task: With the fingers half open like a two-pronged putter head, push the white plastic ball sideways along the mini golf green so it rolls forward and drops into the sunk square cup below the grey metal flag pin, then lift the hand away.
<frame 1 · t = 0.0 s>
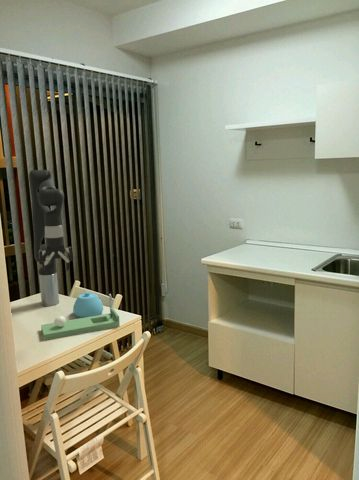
hand: (57, 271, 179), 29 cm above the table, fingers open, 8 cm apart
sugar bowl: (88, 314, 209), on the table
ball: (60, 321, 187), point 5 cm above the table, touching mini golf green
mini golf green: (80, 328, 191), on the table
flag pin: (111, 317, 196), resting on mini golf green
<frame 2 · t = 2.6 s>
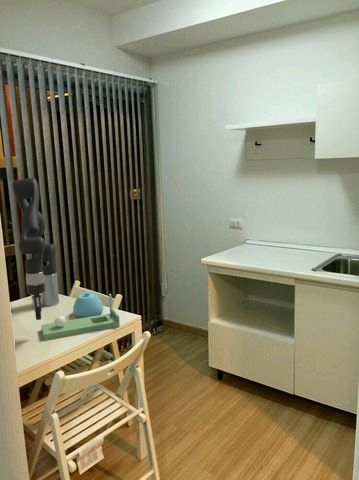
hand: (38, 319, 182), 8 cm above the table, fingers closed
nothing on the table moved.
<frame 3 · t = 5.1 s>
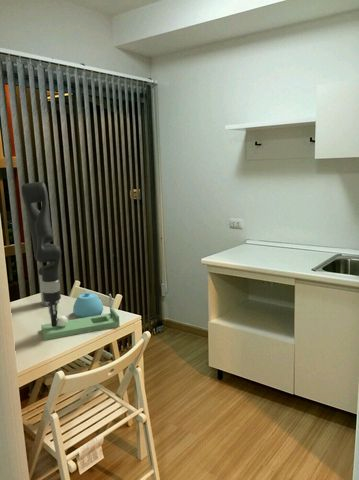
hand: (54, 326, 186), 3 cm above the table, fingers closed
ball: (62, 321, 187), point 5 cm above the table, tilted 17°, touching gripper, mini golf green
everything else where it was.
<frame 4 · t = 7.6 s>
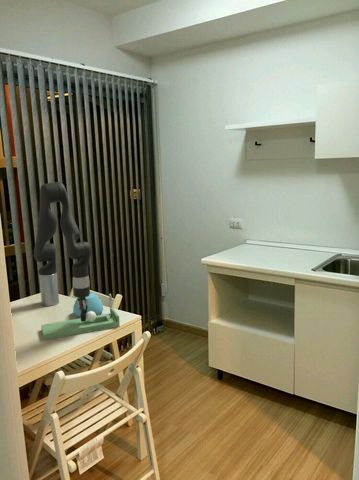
hand: (83, 320, 191), 3 cm above the table, fingers closed
ball: (90, 316, 192), point 5 cm above the table, tilted 141°, touching gripper, mini golf green
everything else where it was.
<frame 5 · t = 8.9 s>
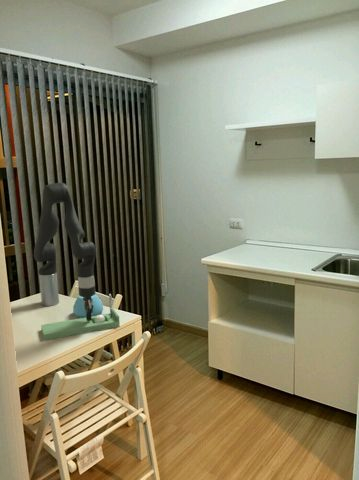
hand: (89, 320, 192), 3 cm above the table, fingers closed
ball: (99, 320, 194), point 2 cm above the table, tilted 32°
everything else where it was.
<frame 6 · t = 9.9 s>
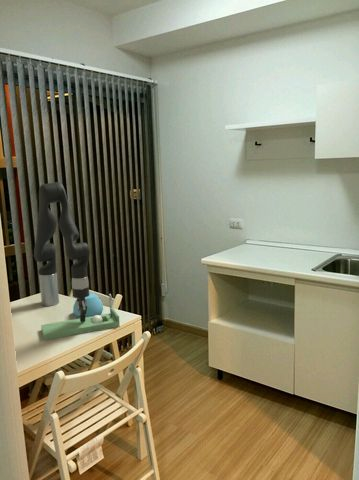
hand: (82, 321, 191), 3 cm above the table, fingers closed
ball: (97, 320, 193), point 2 cm above the table, tilted 60°
everything else where it was.
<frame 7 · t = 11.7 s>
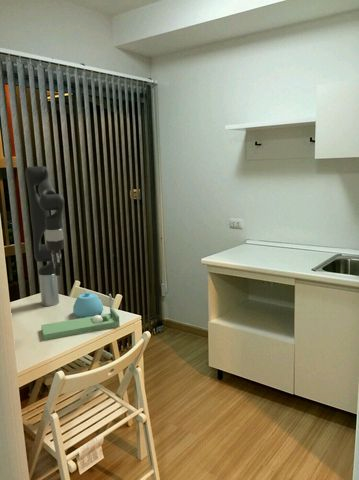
hand: (57, 275, 188), 25 cm above the table, fingers closed
nothing on the table moved.
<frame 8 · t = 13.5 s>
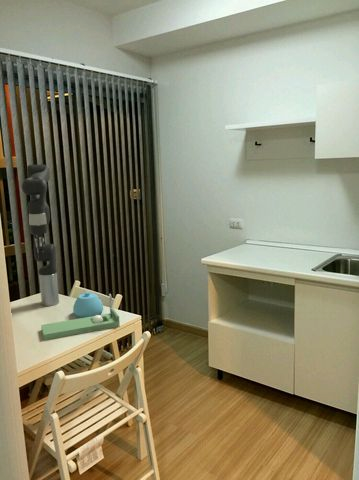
hand: (41, 259, 190), 32 cm above the table, fingers closed
nothing on the table moved.
at the end: ball 1.0 cm from the target spot on the mini golf green, point 2.5 cm above the mini golf green's base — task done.
